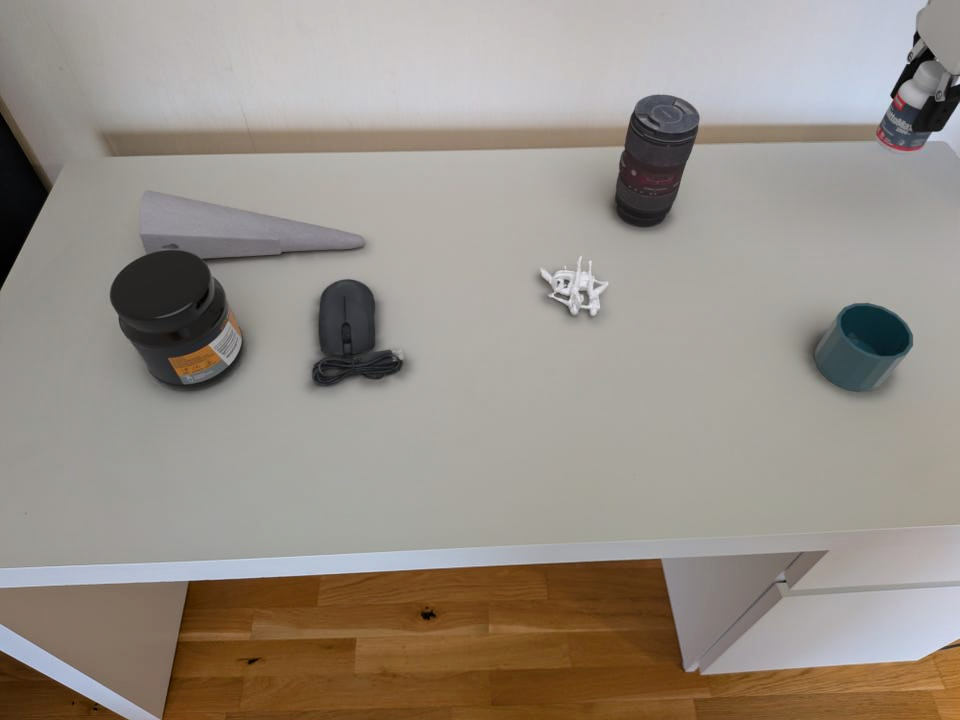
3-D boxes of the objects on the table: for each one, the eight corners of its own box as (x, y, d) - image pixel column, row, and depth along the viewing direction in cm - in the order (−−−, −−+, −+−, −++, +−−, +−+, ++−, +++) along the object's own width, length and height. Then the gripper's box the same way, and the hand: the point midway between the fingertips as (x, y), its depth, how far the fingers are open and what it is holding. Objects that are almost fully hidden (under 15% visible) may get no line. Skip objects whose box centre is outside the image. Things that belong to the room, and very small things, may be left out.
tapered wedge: (361, 179, 88) (146, 176, 83) (364, 223, 83) (135, 223, 78) (362, 225, 94) (161, 225, 89) (364, 269, 89) (152, 271, 84)
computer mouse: (388, 280, 83) (384, 257, 80) (406, 374, 75) (403, 353, 72) (305, 293, 82) (298, 270, 79) (314, 391, 73) (307, 370, 70)
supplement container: (259, 370, 75) (228, 297, 65) (163, 410, 72) (115, 339, 62) (231, 307, 80) (198, 232, 71) (140, 341, 77) (93, 267, 68)
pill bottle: (863, 134, 79) (901, 62, 72) (897, 124, 81) (938, 52, 73) (896, 160, 76) (940, 88, 69) (931, 149, 78) (977, 77, 71)
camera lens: (643, 240, 88) (670, 141, 76) (598, 207, 92) (617, 108, 80) (684, 214, 91) (716, 115, 79) (639, 183, 95) (664, 84, 83)
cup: (870, 336, 79) (895, 302, 74) (896, 391, 74) (925, 358, 69) (805, 338, 78) (827, 303, 74) (827, 392, 74) (852, 359, 69)
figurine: (606, 322, 80) (539, 318, 80) (602, 273, 84) (538, 269, 84) (612, 306, 77) (543, 301, 77) (607, 256, 82) (541, 252, 82)
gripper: (1114, -21, 56) (982, 162, 70) (1014, -103, 66) (916, 71, 81) (1024, -21, 56) (910, 162, 70) (937, -103, 66) (854, 71, 81)
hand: (915, 112), depth 75 cm, fingers closed on pill bottle, 5 cm apart
